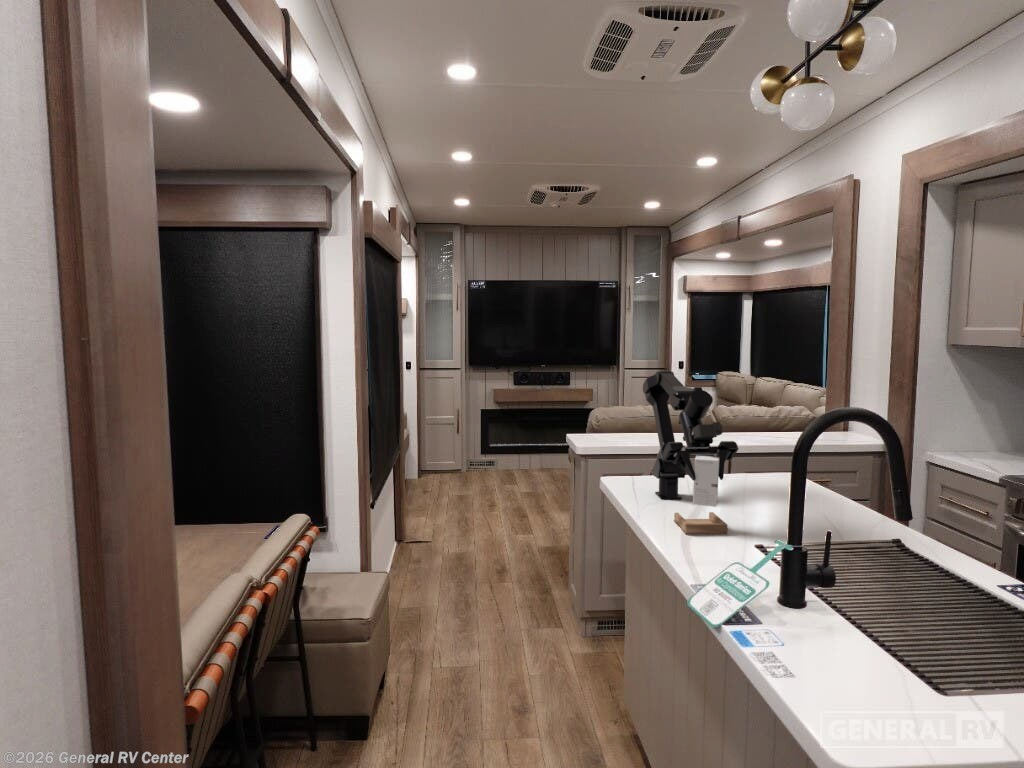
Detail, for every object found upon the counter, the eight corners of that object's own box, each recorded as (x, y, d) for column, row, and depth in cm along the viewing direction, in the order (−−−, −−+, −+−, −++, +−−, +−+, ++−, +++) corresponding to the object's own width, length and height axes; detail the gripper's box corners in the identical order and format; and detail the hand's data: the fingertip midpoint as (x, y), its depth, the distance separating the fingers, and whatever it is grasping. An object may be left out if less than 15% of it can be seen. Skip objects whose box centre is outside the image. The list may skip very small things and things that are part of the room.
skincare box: (692, 504, 152) (693, 458, 151) (693, 499, 157) (694, 454, 155) (718, 507, 150) (719, 460, 149) (718, 501, 154) (719, 456, 153)
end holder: (673, 521, 159) (673, 512, 159) (711, 520, 160) (712, 511, 159) (686, 534, 149) (686, 525, 149) (727, 534, 149) (727, 524, 149)
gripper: (667, 412, 154) (681, 464, 144) (736, 411, 155) (755, 462, 146) (657, 435, 163) (669, 486, 153) (722, 434, 164) (739, 484, 155)
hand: (708, 479), depth 151 cm, fingers closed on skincare box, 7 cm apart
